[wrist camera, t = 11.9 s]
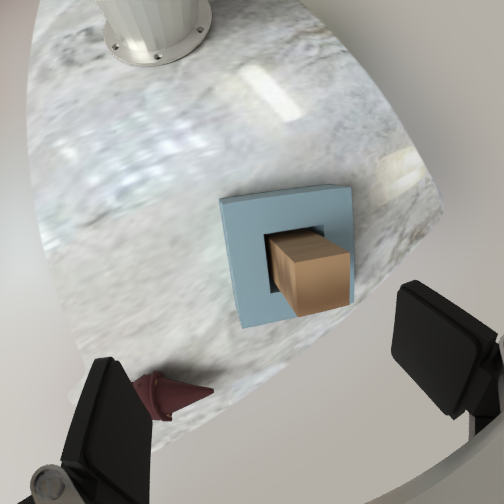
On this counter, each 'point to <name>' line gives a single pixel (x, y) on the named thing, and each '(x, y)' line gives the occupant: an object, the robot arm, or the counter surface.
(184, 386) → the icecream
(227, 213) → the socket block
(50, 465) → the robot arm
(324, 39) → the counter surface
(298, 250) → the walnut peg
